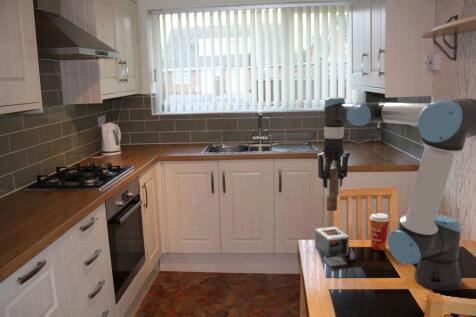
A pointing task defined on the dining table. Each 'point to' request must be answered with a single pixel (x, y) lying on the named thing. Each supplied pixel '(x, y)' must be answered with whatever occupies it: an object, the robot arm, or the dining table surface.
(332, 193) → the stylus
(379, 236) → the paper cup
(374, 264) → the dining table surface
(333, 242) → the button
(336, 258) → the mat
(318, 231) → the box
